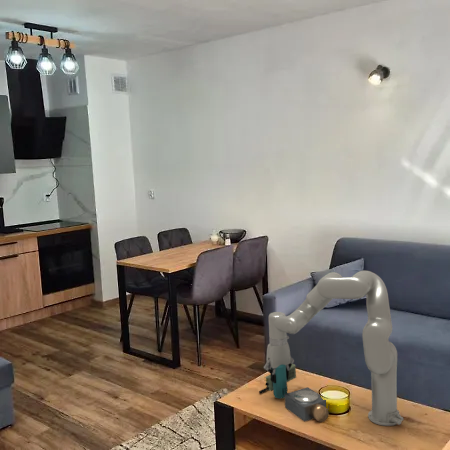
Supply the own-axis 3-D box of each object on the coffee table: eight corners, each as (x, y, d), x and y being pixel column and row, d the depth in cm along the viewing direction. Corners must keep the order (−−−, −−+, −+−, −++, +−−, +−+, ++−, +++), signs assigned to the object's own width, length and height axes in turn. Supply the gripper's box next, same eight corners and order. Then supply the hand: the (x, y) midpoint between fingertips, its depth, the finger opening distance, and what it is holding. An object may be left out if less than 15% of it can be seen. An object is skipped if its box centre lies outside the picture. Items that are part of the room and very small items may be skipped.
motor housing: (334, 417, 206) (334, 402, 205) (310, 425, 201) (310, 410, 200) (308, 400, 222) (307, 386, 221) (285, 407, 217) (284, 393, 216)
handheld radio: (297, 378, 246) (262, 396, 229) (292, 376, 248) (257, 394, 231) (296, 364, 245) (261, 381, 228) (291, 363, 247) (256, 380, 230)
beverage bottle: (283, 403, 220) (280, 359, 218) (270, 399, 224) (267, 356, 222) (290, 397, 226) (288, 353, 223) (278, 393, 230) (275, 351, 227)
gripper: (289, 334, 229) (291, 372, 231) (256, 342, 221) (258, 382, 223) (299, 339, 222) (301, 378, 224) (265, 347, 215) (267, 388, 217)
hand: (279, 380), depth 224 cm, fingers closed on beverage bottle, 5 cm apart
